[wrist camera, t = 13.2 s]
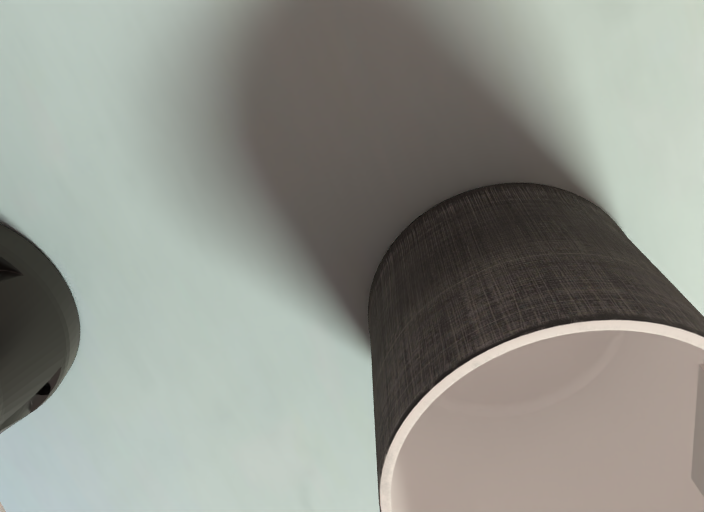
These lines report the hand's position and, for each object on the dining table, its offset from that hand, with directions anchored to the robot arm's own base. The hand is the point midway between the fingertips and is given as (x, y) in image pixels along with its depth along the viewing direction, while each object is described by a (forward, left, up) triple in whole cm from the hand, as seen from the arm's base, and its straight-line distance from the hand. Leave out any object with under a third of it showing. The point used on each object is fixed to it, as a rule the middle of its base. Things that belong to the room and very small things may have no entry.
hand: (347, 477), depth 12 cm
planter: (+8, -14, -28) cm, 33 cm away
